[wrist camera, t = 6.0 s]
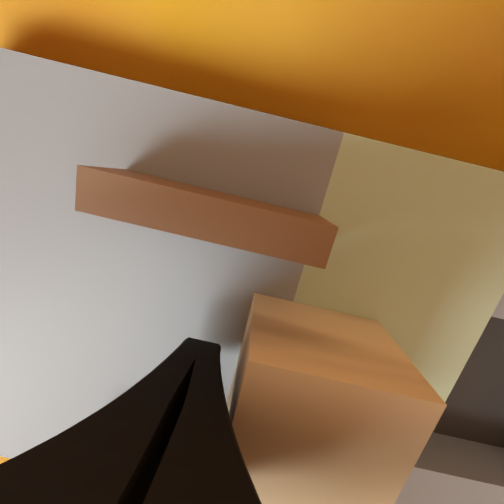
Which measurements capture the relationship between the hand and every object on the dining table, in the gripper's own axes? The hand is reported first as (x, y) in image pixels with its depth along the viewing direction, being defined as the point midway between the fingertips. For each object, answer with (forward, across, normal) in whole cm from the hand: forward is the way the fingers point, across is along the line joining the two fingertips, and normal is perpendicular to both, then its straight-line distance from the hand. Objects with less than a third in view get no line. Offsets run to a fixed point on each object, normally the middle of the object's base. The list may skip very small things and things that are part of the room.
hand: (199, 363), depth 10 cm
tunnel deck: (+4, -4, 0) cm, 5 cm away
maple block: (+1, -4, 0) cm, 4 cm away
